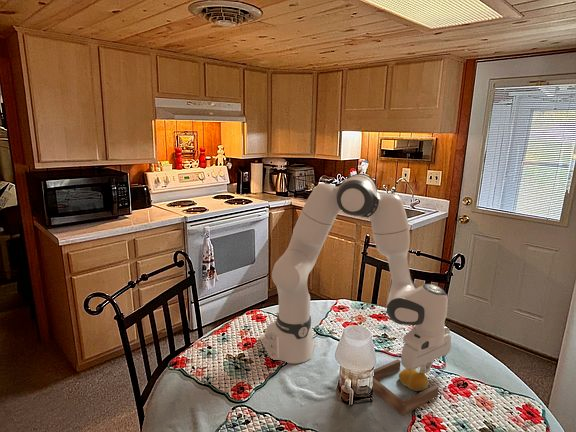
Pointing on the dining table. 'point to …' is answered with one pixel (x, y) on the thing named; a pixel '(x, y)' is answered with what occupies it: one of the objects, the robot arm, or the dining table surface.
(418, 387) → the bread roll
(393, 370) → the tray
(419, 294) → the robot arm
